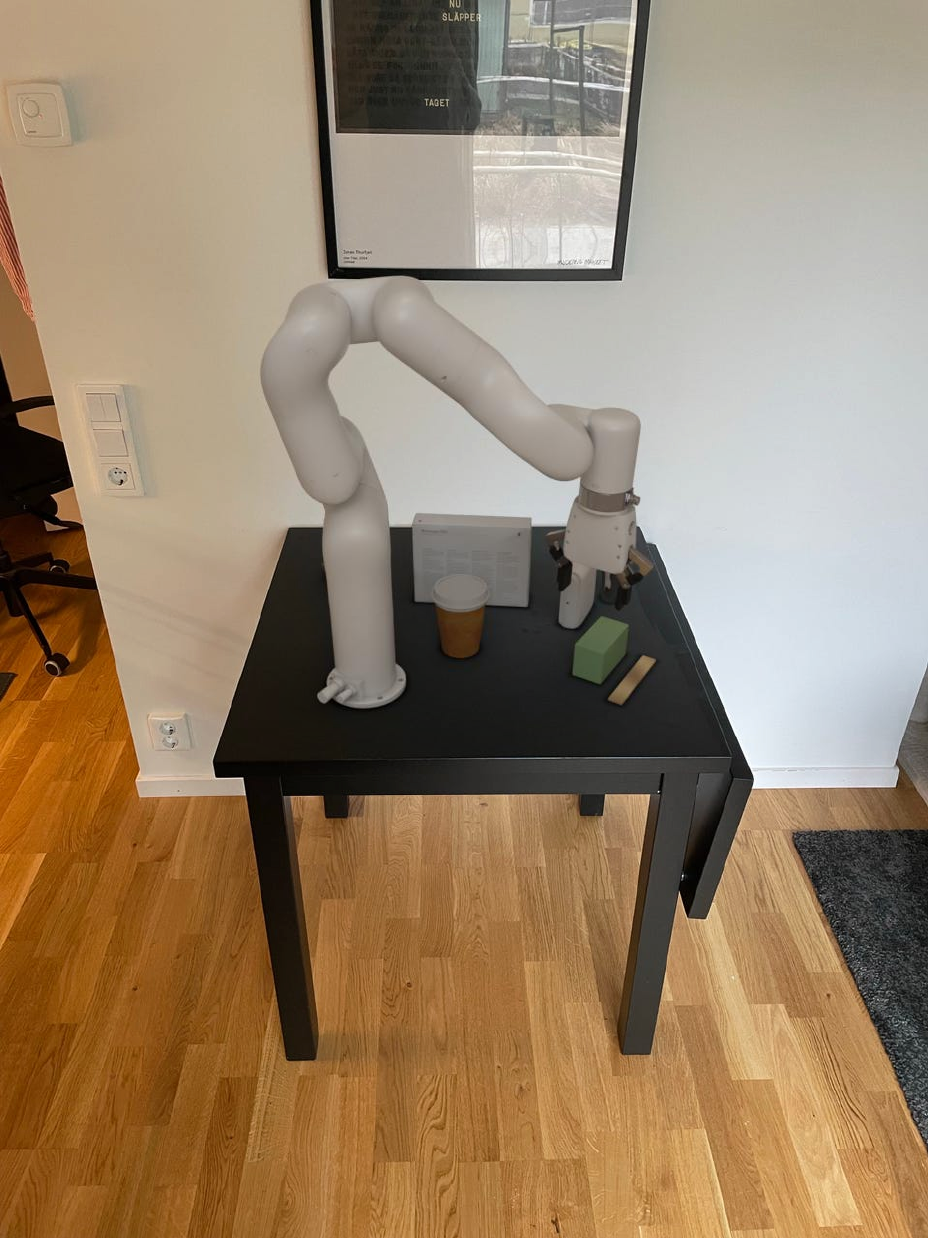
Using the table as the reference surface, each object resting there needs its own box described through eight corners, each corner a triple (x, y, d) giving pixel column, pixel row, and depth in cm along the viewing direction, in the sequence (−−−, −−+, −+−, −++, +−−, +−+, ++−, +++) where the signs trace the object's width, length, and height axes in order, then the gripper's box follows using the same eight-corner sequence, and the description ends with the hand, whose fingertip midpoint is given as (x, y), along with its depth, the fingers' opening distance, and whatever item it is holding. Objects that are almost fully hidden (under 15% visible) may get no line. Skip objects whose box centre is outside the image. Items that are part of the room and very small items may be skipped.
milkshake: (595, 605, 165) (600, 557, 160) (599, 591, 169) (603, 543, 164) (620, 608, 164) (626, 560, 159) (623, 594, 168) (629, 546, 163)
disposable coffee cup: (476, 627, 159) (476, 568, 152) (497, 656, 151) (498, 595, 145) (424, 638, 156) (423, 578, 149) (443, 668, 148) (442, 606, 142)
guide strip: (621, 705, 140) (622, 703, 140) (607, 700, 141) (607, 698, 141) (656, 661, 150) (656, 659, 150) (642, 656, 151) (642, 655, 151)
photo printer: (578, 631, 158) (583, 570, 151) (555, 626, 159) (559, 564, 152) (596, 603, 166) (602, 543, 159) (573, 598, 167) (578, 539, 160)
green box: (572, 674, 147) (574, 644, 144) (598, 645, 154) (601, 615, 151) (600, 684, 145) (603, 653, 141) (625, 654, 152) (629, 624, 149)
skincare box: (529, 593, 169) (532, 516, 160) (528, 608, 164) (531, 530, 156) (417, 587, 170) (415, 510, 162) (413, 602, 166) (410, 524, 157)
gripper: (670, 501, 129) (653, 603, 138) (563, 472, 137) (553, 571, 146) (650, 520, 124) (634, 625, 133) (539, 489, 131) (531, 590, 140)
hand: (592, 596), depth 139 cm, fingers open, 9 cm apart
